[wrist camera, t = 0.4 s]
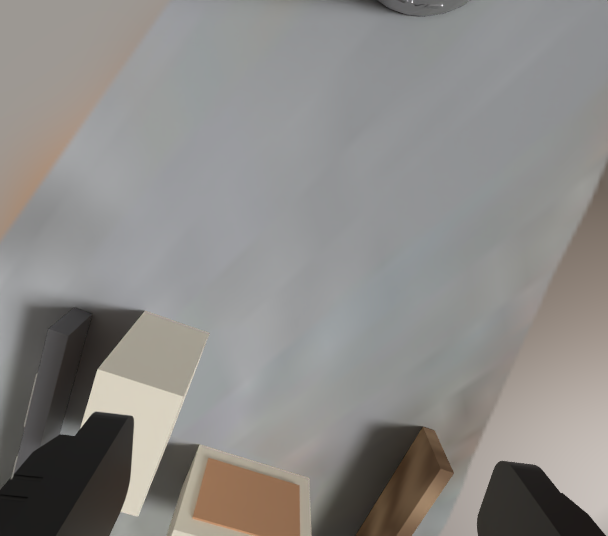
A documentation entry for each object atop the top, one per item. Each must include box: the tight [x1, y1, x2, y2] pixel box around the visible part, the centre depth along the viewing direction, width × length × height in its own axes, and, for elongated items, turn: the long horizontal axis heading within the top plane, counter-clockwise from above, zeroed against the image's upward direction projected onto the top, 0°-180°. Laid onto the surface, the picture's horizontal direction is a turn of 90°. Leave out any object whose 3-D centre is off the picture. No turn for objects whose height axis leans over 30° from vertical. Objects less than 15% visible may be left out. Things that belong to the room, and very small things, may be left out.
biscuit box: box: [167, 445, 311, 536], centre depth 29 cm, size 5×9×7 cm, turn 68°
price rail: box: [11, 308, 92, 479], centre depth 29 cm, size 26×2×3 cm, turn 157°
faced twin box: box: [80, 311, 210, 517], centre depth 26 cm, size 5×9×7 cm, turn 157°
